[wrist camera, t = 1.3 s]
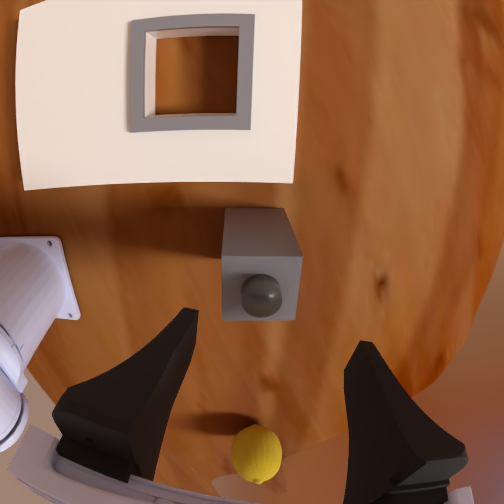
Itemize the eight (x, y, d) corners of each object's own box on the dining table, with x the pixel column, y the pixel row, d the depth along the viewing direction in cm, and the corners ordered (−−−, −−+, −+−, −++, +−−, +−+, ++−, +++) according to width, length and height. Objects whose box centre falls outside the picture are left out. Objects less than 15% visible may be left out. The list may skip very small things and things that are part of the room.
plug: (225, 259, 24) (222, 332, 17) (225, 207, 22) (220, 266, 15) (279, 259, 24) (297, 331, 17) (283, 208, 22) (306, 266, 15)
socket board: (41, 180, 20) (21, 192, 17) (38, 15, 14) (17, 9, 11) (286, 173, 21) (293, 185, 18) (295, -13, 15) (303, -28, 12)
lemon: (266, 407, 32) (272, 470, 25) (284, 428, 35) (292, 484, 28) (222, 419, 33) (221, 480, 26) (244, 439, 36) (246, 494, 28)
